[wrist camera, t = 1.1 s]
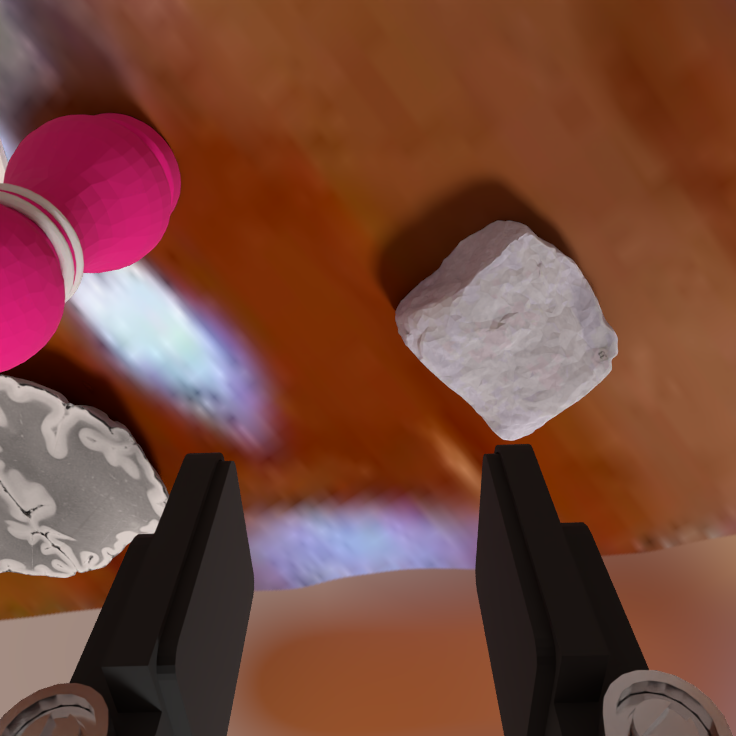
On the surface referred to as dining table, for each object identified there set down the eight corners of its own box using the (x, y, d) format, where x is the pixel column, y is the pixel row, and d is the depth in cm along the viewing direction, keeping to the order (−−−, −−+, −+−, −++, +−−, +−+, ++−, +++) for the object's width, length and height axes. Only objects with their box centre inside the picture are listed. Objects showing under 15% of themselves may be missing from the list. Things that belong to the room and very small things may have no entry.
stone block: (498, 191, 37) (376, 314, 39) (531, 204, 33) (392, 341, 35) (610, 322, 42) (497, 427, 44) (653, 348, 38) (525, 464, 39)
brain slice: (80, 307, 39) (60, 329, 36) (210, 509, 47) (201, 539, 44) (-180, 403, 42) (-215, 429, 40) (-18, 577, 50) (-39, 608, 48)
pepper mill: (29, 121, 34) (-335, 249, 16) (160, 86, 33) (-74, 182, 15) (90, 251, 37) (-156, 473, 20) (209, 223, 36) (64, 428, 19)
